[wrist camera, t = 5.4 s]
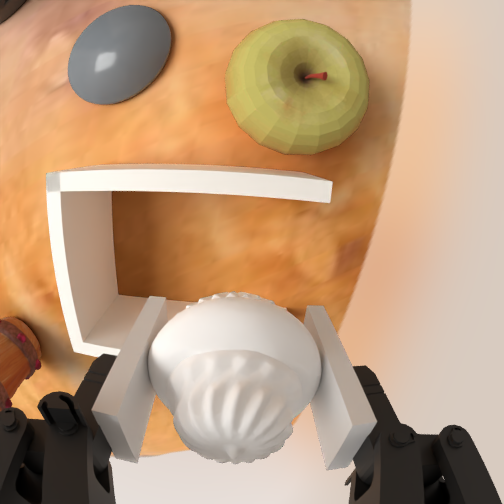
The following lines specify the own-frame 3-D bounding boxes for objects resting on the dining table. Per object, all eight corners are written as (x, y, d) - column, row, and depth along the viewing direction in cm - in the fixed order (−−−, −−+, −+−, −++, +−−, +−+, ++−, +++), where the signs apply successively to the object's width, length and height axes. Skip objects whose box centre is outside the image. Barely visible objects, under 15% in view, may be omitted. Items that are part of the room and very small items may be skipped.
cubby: (100, 164, 22) (46, 173, 14) (303, 172, 23) (332, 181, 15) (109, 304, 26) (74, 351, 18) (284, 318, 27) (298, 375, 19)
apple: (356, 147, 22) (404, 147, 14) (240, 165, 22) (239, 170, 15) (332, 40, 19) (367, 1, 11) (217, 53, 19) (205, 10, 12)
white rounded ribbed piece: (162, 357, 13) (128, 476, 7) (178, 244, 12) (112, 356, 5) (281, 378, 14) (299, 496, 8) (322, 276, 12) (390, 396, 6)
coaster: (81, 18, 17) (79, 16, 16) (179, 1, 17) (178, -1, 17) (64, 111, 20) (61, 110, 19) (164, 100, 20) (162, 99, 20)
